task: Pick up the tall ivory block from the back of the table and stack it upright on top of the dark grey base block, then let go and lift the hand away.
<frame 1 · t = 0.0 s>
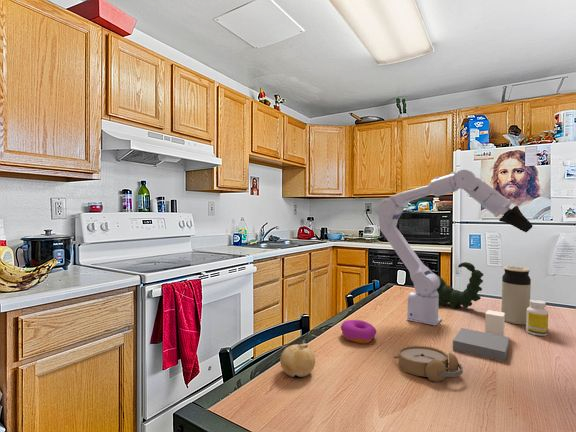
hand: (529, 229, 99), 32 cm above the table, tool tilted 50°, fingers open, 7 cm apart
supplement bottle: (536, 333, 106), on the table
travel mug: (514, 321, 116), on the table
base block: (481, 347, 94), on the table
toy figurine: (445, 305, 135), on the table
onion: (297, 374, 80), on the table
ivory block: (494, 336, 103), on the table
alarm clock: (429, 372, 81), on the table
donut: (357, 338, 101), on the table
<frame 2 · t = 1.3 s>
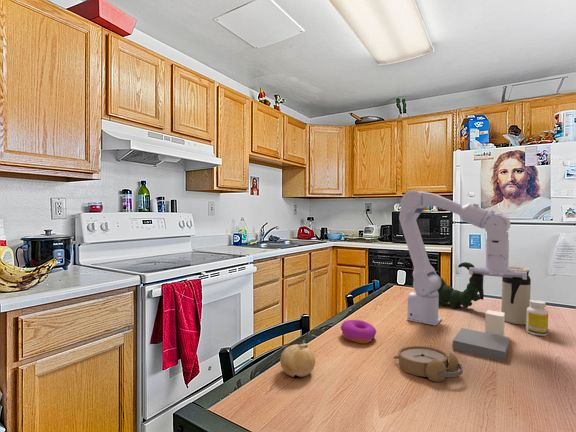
hand: (496, 300, 102), 11 cm above the table, tool pointing down, fingers open, 7 cm apart
nothing on the table moved.
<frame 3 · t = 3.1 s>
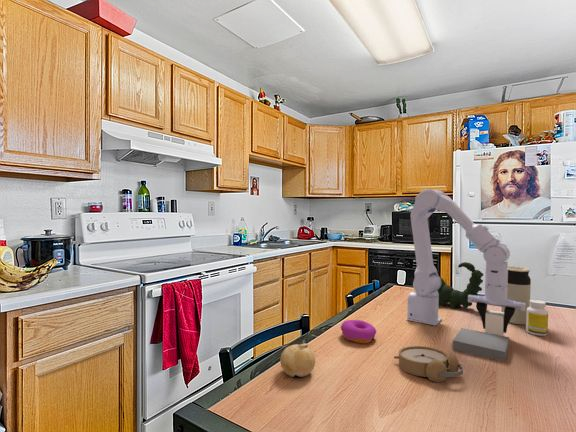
hand: (494, 329, 103), 2 cm above the table, tool pointing down, fingers closed on ivory block, 4 cm apart
ivory block: (494, 336, 103), on the table, touching gripper
everything else where it was.
when the fingers open (5 cm above the table, at t = 8.2 s): ivory block stays where it is, resting on base block.
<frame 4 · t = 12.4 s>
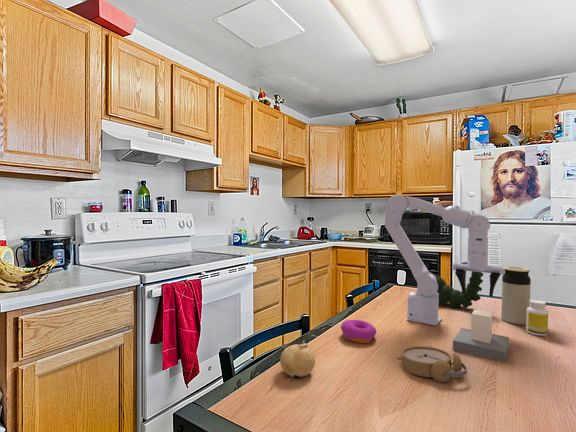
hand: (477, 294, 111), 10 cm above the table, tool pointing down, fingers open, 7 cm apart
ivory block: (481, 338, 94), point 2 cm above the table, touching base block
at the end: ivory block inside the target area on the base block (0.1 cm from its centre), point 2.5 cm above the base block's base; ivory block tilted 0°; the gripper is holding nothing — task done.
